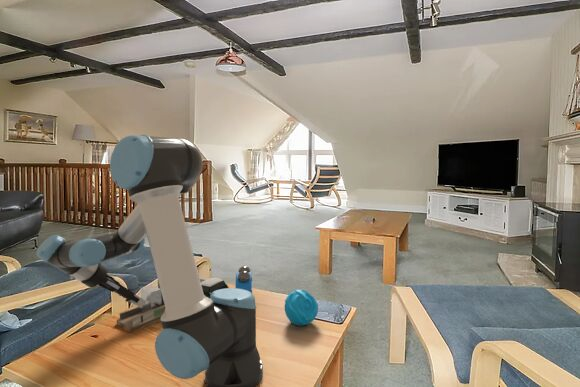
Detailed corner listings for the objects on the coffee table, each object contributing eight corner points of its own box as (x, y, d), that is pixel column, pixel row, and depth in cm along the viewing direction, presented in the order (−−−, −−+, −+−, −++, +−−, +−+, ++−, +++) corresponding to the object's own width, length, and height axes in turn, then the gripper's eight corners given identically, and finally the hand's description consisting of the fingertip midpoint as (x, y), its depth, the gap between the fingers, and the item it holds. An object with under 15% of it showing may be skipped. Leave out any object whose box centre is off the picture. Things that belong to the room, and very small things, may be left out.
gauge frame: (182, 311, 126) (181, 282, 125) (130, 332, 110) (129, 299, 109) (168, 304, 132) (166, 276, 131) (116, 323, 116) (115, 292, 115)
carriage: (164, 314, 119) (163, 290, 119) (154, 318, 116) (153, 293, 115) (151, 307, 125) (150, 284, 124) (141, 311, 122) (140, 288, 121)
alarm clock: (237, 299, 137) (236, 263, 135) (252, 298, 138) (251, 263, 136) (235, 313, 124) (235, 274, 123) (252, 312, 125) (251, 274, 123)
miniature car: (184, 306, 131) (183, 286, 130) (216, 290, 146) (215, 273, 145) (200, 311, 126) (199, 291, 125) (231, 295, 142) (231, 276, 141)
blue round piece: (296, 335, 108) (296, 301, 107) (277, 321, 118) (277, 290, 116) (323, 324, 115) (324, 292, 114) (303, 312, 125) (303, 282, 123)
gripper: (72, 277, 106) (126, 308, 120) (89, 286, 98) (145, 319, 112) (89, 257, 109) (140, 290, 124) (106, 264, 101) (159, 299, 116)
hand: (142, 304), depth 118 cm, fingers closed
